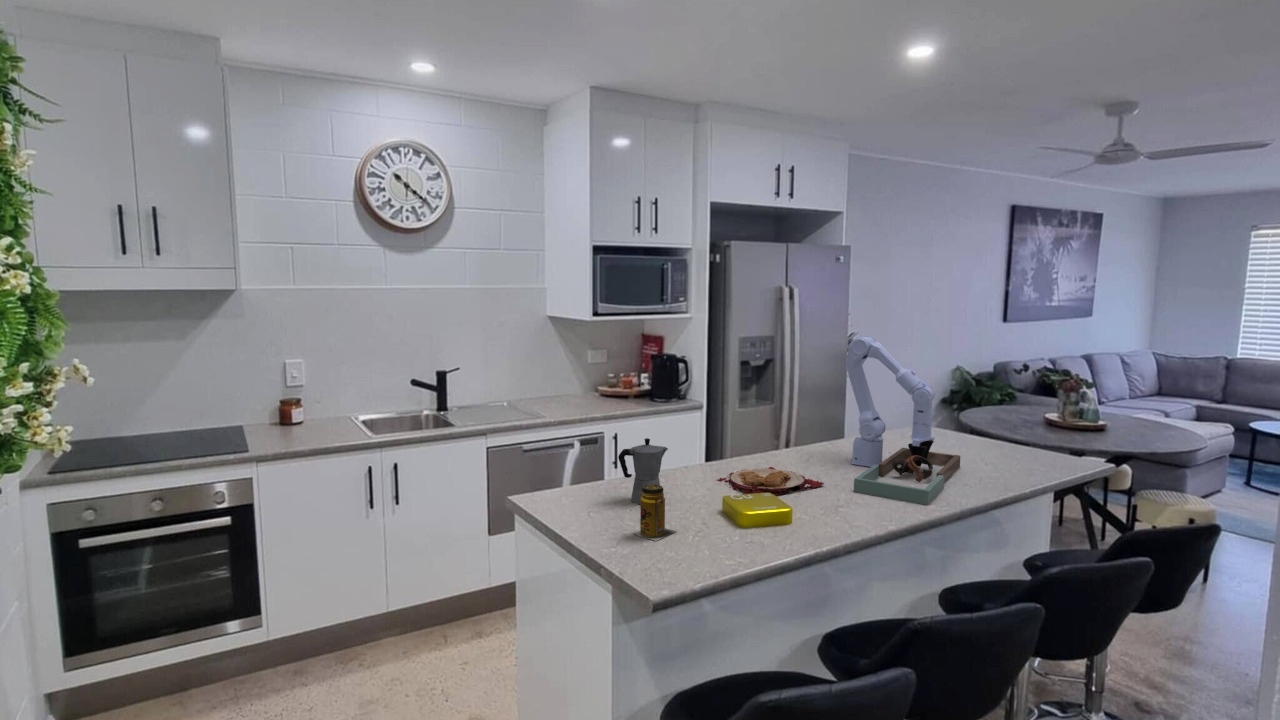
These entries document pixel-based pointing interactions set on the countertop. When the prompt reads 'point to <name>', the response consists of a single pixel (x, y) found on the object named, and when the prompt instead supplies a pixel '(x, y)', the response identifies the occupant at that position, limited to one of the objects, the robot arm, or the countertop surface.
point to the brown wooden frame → (946, 460)
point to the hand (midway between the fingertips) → (919, 463)
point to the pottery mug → (913, 467)
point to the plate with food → (768, 481)
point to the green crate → (896, 488)
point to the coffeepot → (643, 466)
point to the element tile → (756, 510)
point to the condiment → (653, 513)
